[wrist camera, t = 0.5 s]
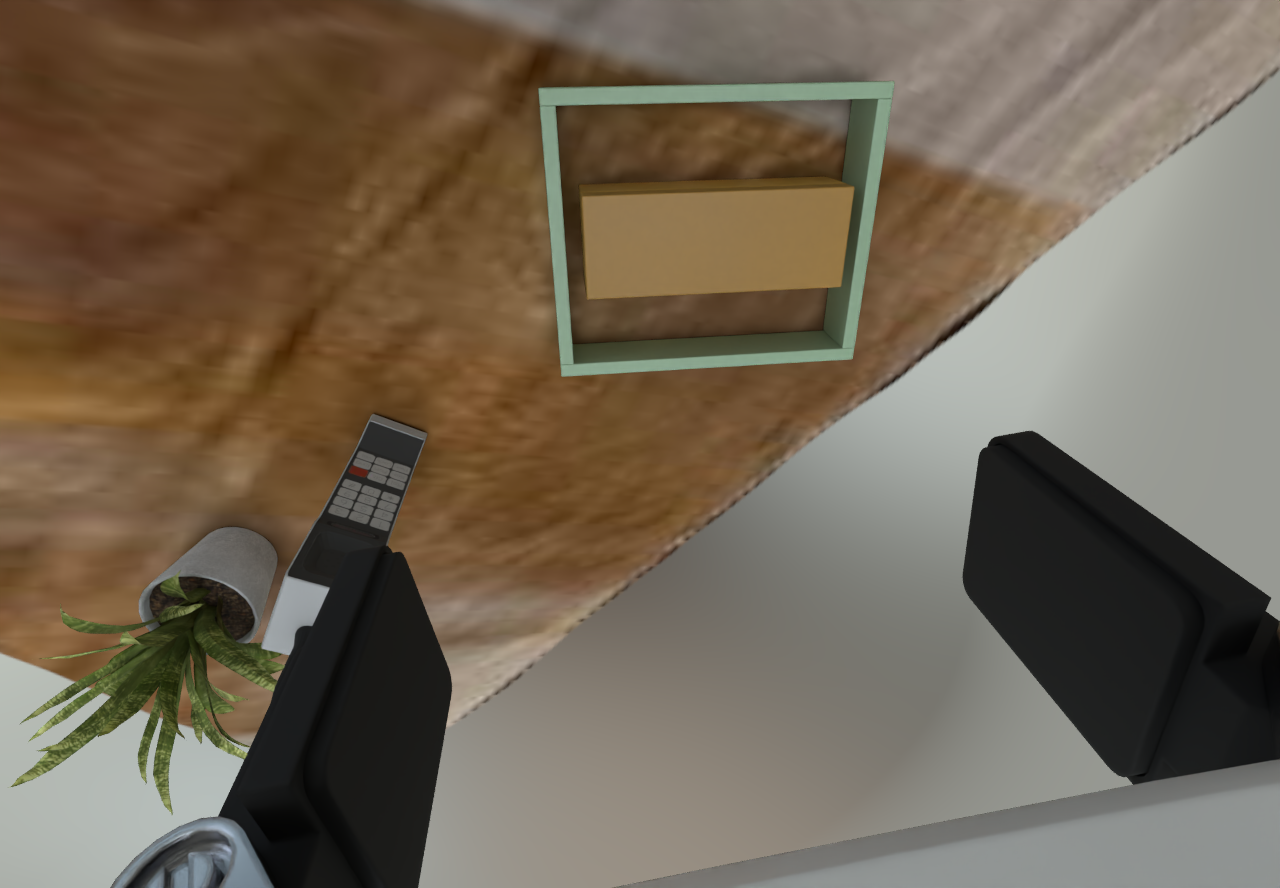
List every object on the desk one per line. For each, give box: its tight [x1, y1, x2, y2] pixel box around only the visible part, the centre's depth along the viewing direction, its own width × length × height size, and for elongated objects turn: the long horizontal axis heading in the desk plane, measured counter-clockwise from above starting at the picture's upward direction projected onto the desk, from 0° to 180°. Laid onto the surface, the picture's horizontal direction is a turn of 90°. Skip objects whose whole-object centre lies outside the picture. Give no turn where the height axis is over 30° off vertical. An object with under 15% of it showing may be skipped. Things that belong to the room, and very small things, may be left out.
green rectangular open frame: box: [538, 81, 895, 376], centre depth 39 cm, size 16×19×4 cm
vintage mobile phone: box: [261, 414, 427, 724], centre depth 34 cm, size 4×5×25 cm
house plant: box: [11, 527, 284, 813], centre depth 41 cm, size 14×14×16 cm
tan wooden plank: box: [578, 176, 854, 299], centre depth 38 cm, size 6×15×4 cm, turn 91°
